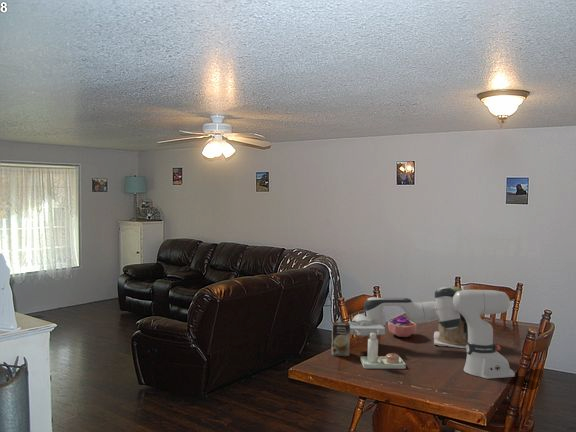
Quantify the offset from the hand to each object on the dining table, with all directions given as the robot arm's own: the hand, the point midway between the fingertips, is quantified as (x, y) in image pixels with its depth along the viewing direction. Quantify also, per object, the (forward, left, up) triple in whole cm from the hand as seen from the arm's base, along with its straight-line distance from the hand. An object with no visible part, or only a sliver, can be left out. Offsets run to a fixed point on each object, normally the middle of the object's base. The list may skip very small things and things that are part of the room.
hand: (368, 333), depth 263 cm
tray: (-5, +13, -12) cm, 18 cm away
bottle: (0, +13, -10) cm, 16 cm away
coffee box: (+14, -4, -12) cm, 19 cm away
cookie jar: (-55, -26, -12) cm, 62 cm away
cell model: (-27, -39, -12) cm, 49 cm away
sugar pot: (-10, +13, -12) cm, 20 cm away
